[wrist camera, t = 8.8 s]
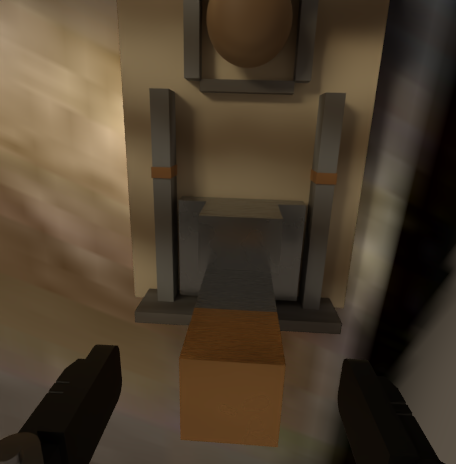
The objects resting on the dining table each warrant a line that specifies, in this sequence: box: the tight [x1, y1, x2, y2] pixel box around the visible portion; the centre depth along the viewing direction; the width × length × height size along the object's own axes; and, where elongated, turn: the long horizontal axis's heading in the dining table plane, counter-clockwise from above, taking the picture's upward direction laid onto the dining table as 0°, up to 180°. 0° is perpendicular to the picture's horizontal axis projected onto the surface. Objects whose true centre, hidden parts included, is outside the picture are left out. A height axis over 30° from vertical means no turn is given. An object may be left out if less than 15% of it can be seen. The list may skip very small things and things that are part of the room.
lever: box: [178, 196, 306, 447], centre depth 15 cm, size 6×7×11 cm
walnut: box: [207, 0, 293, 68], centre depth 16 cm, size 4×4×4 cm
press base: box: [117, 0, 390, 334], centre depth 18 cm, size 22×14×7 cm, turn 178°
